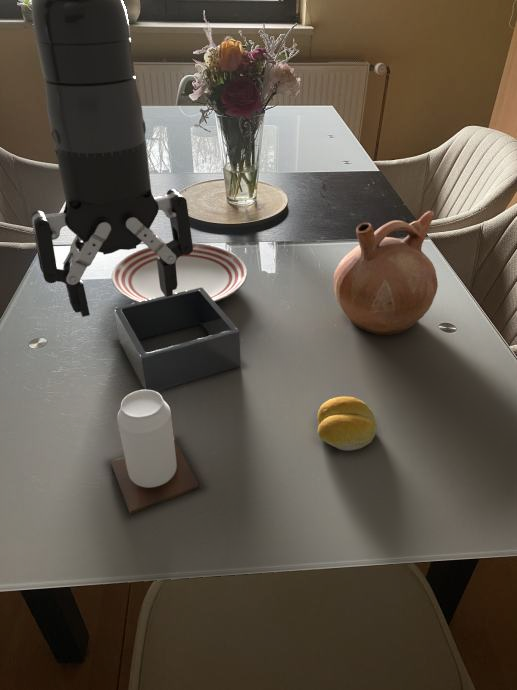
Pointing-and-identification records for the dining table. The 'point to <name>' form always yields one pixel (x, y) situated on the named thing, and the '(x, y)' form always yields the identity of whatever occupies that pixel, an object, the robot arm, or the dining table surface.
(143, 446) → the beverage can
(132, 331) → the grey open box
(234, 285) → the dinner plate
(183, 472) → the coaster
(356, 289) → the jug
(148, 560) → the dining table surface
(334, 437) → the bread roll
